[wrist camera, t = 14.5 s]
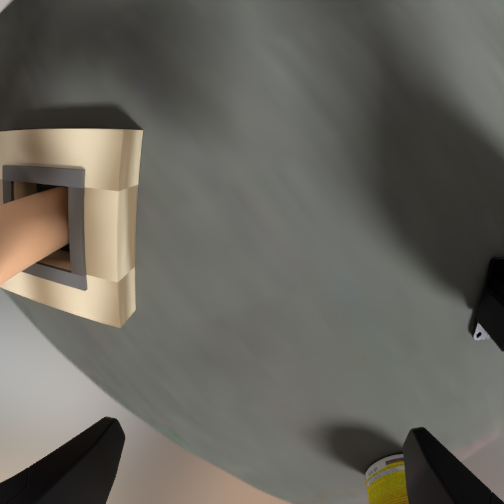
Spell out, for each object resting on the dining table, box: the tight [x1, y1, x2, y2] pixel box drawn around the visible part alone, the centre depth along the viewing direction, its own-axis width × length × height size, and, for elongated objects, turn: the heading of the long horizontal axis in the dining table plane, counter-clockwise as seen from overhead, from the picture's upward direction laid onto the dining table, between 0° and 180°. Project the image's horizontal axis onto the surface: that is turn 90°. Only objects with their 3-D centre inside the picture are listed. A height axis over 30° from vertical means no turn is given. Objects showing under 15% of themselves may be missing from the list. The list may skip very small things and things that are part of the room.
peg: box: [0, 186, 69, 285], centre depth 14 cm, size 4×4×12 cm
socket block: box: [0, 128, 143, 328], centre depth 18 cm, size 12×12×3 cm
